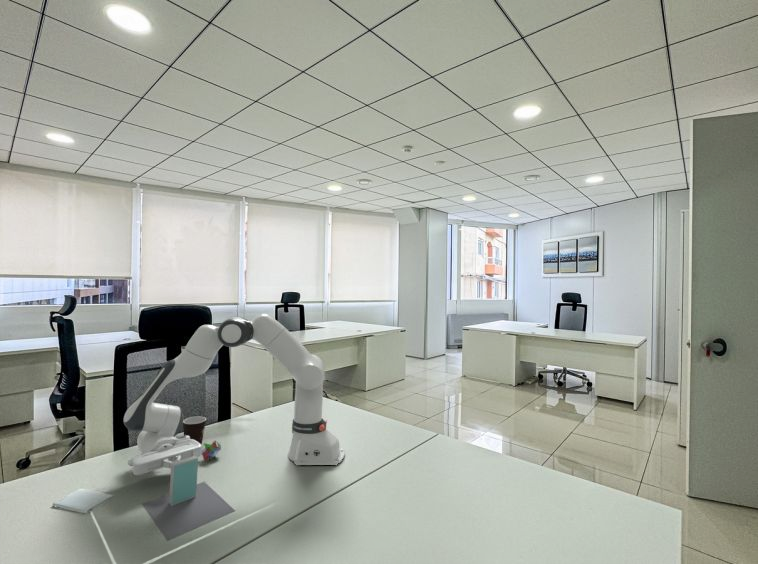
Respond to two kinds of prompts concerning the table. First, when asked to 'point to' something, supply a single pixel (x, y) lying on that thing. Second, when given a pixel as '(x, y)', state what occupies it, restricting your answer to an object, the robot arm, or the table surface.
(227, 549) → the table surface
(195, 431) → the coffee mug
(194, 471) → the tile
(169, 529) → the mat
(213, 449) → the geometric puzzle
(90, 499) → the hard drive
